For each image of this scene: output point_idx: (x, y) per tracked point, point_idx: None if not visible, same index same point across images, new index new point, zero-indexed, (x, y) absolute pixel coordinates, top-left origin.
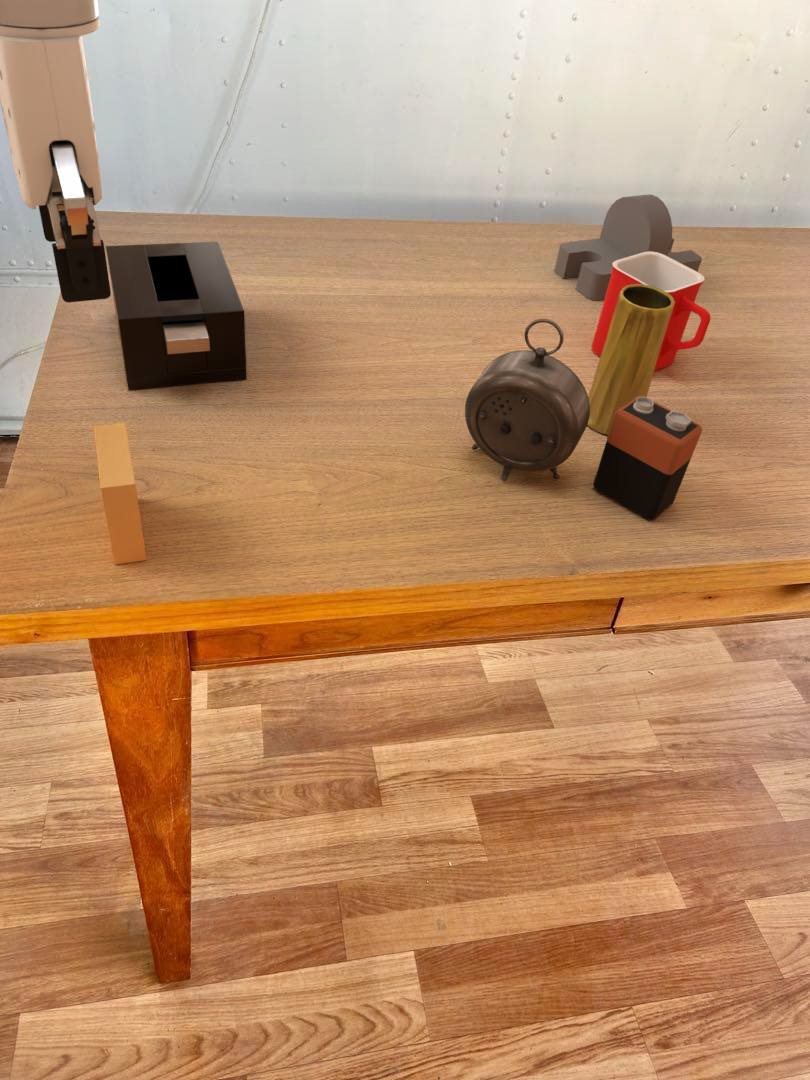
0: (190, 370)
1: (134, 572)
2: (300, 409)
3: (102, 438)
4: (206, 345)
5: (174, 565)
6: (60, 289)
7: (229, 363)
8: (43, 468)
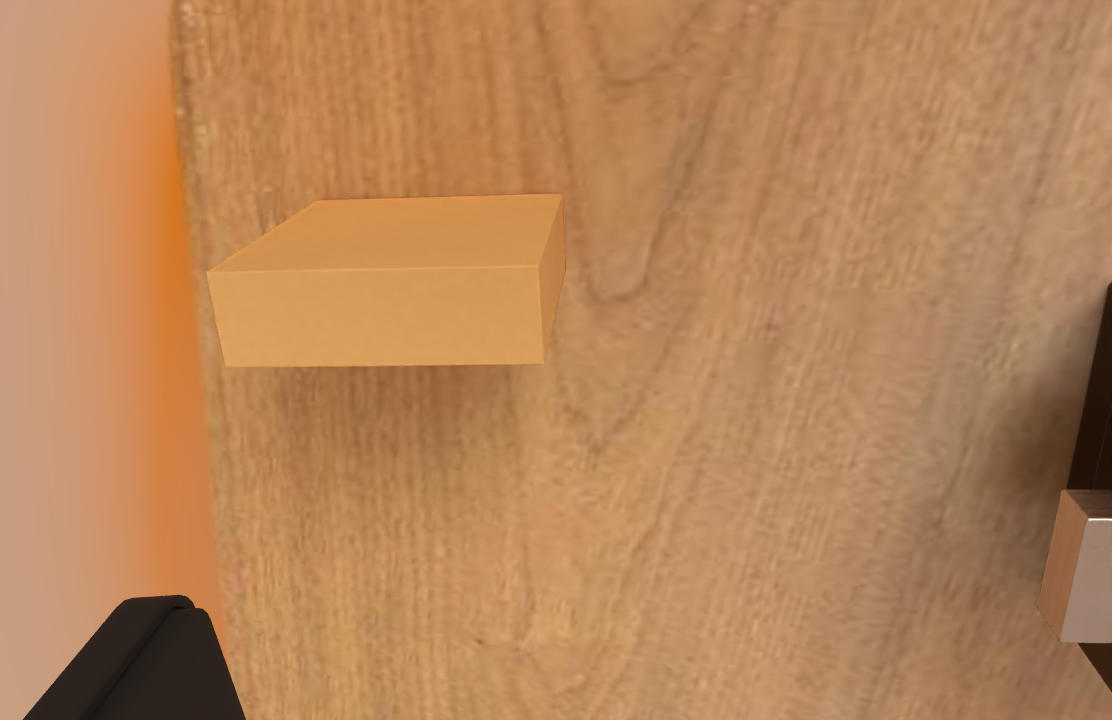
0: (1097, 484)
1: None
2: (857, 682)
3: (459, 290)
4: (1047, 613)
5: None
6: (115, 639)
7: None
8: (756, 11)
